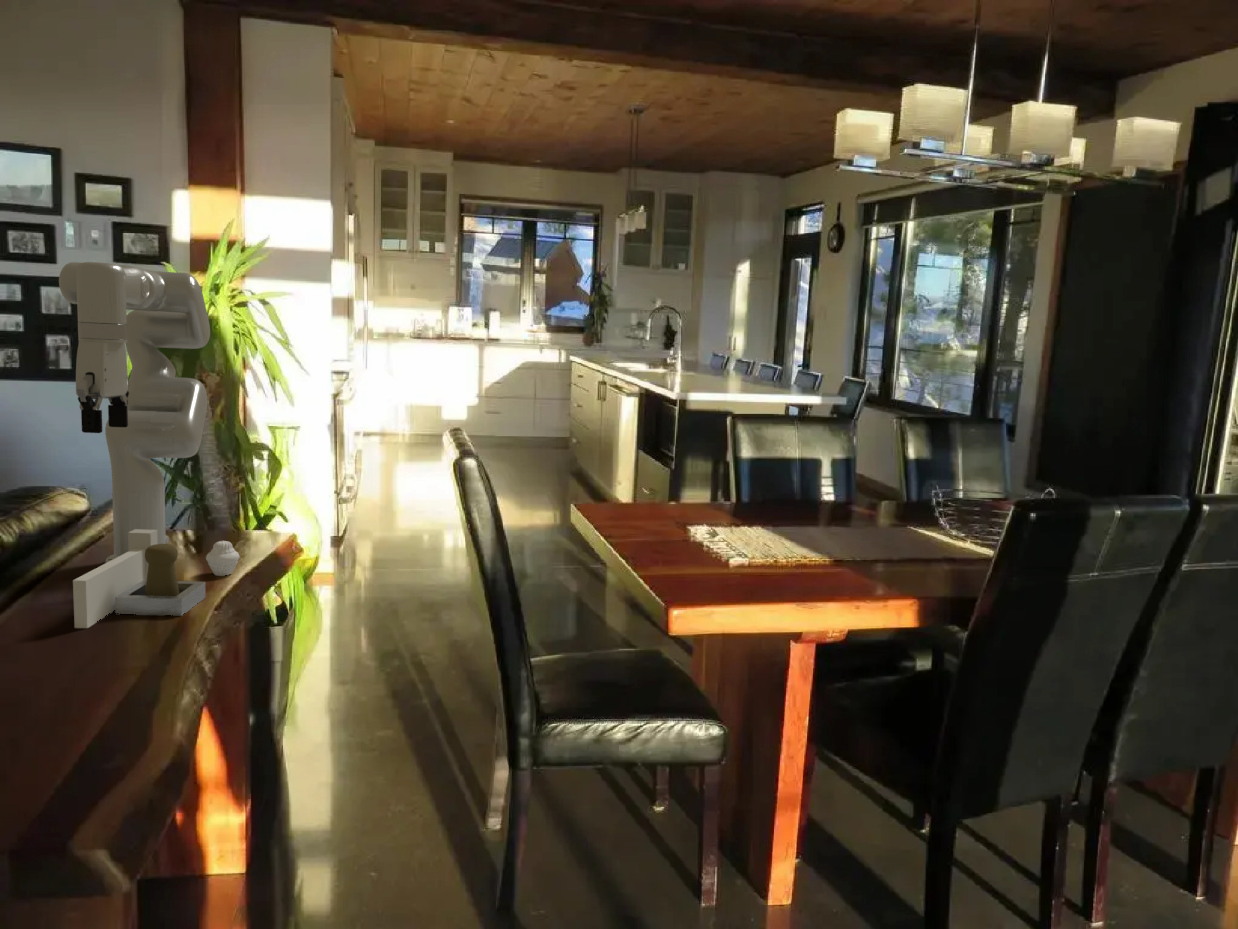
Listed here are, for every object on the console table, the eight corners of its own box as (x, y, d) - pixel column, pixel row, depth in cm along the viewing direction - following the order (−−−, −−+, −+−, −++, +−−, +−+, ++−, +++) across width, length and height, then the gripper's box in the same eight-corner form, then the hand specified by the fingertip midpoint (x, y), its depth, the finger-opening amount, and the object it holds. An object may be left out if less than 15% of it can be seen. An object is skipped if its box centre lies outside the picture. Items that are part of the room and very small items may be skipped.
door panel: (136, 585, 172) (135, 529, 171) (158, 586, 172) (157, 529, 171) (68, 627, 147) (65, 562, 146) (93, 628, 148) (91, 562, 146)
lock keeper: (143, 596, 166) (143, 580, 166) (205, 597, 167) (205, 581, 167) (115, 614, 155) (114, 597, 155) (181, 615, 156) (181, 599, 156)
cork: (165, 611, 158) (164, 550, 156) (135, 607, 159) (133, 546, 158) (188, 602, 164) (187, 542, 162) (159, 598, 165) (158, 539, 164)
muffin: (241, 569, 187) (241, 536, 186) (237, 577, 181) (237, 543, 180) (208, 570, 185) (208, 537, 184) (203, 578, 179) (203, 544, 178)
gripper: (104, 332, 169) (106, 424, 171) (54, 332, 152) (58, 434, 154) (146, 334, 169) (148, 425, 172) (101, 334, 152) (104, 435, 155)
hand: (105, 429), depth 163 cm, fingers open, 9 cm apart
